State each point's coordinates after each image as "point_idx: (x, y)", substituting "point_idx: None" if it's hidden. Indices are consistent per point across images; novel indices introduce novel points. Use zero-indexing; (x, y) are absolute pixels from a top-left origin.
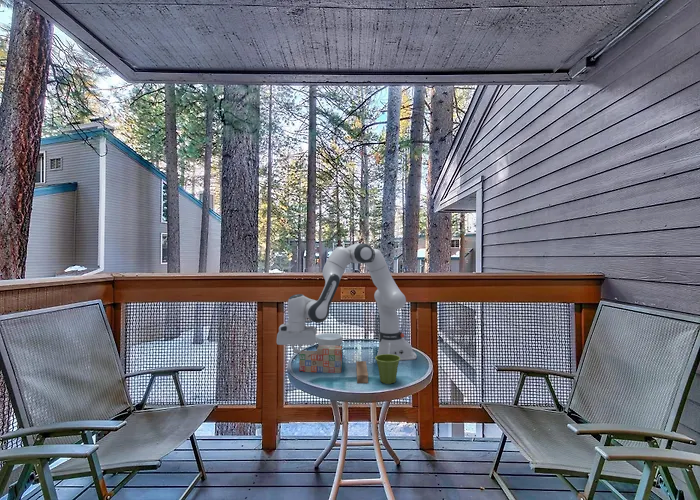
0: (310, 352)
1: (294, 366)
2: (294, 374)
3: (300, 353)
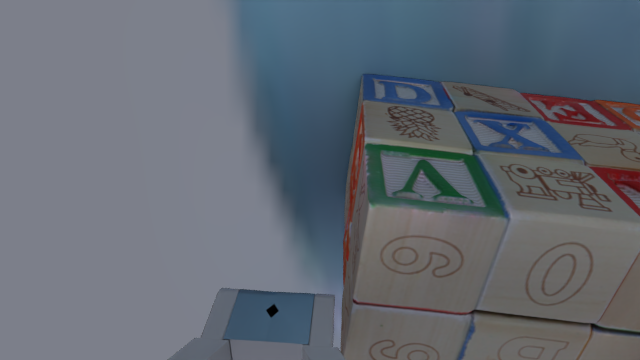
0: (559, 333)
1: (254, 24)
2: (305, 260)
3: (358, 355)
